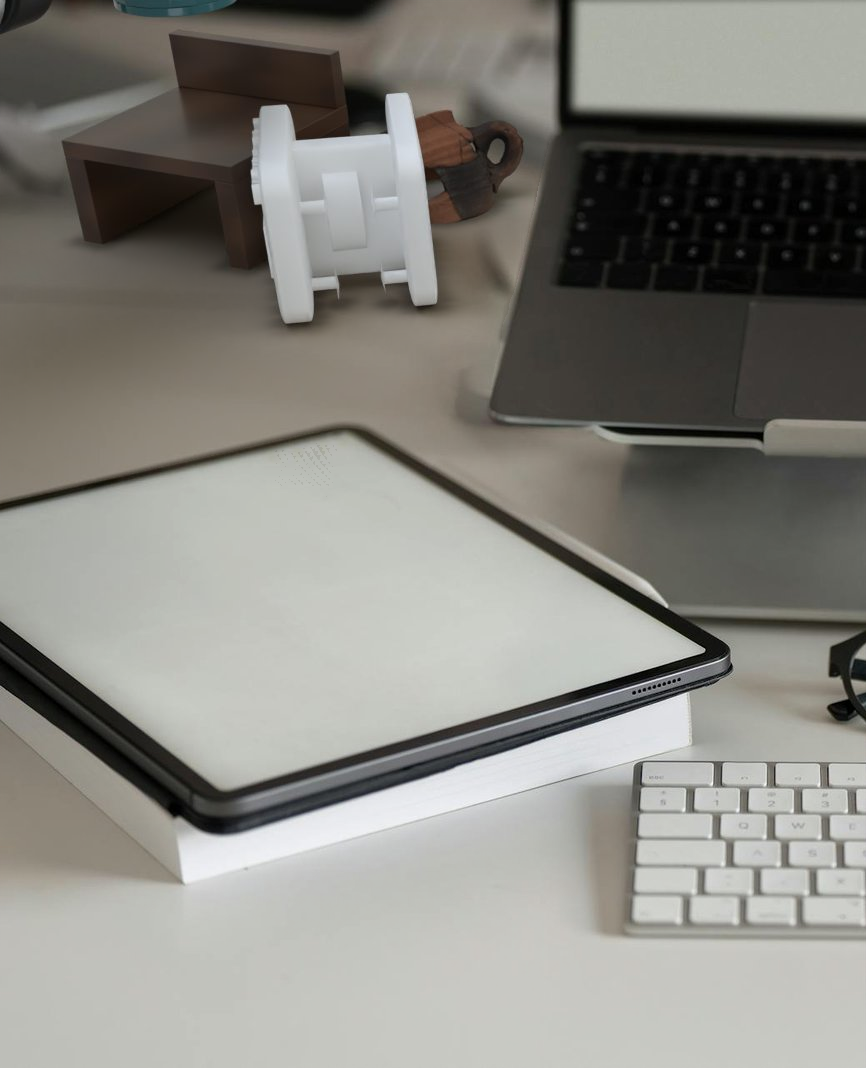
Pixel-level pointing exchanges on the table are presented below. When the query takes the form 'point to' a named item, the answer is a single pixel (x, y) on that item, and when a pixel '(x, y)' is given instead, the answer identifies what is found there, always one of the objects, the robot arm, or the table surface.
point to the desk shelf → (203, 136)
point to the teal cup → (169, 7)
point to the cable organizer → (342, 207)
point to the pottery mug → (464, 163)
